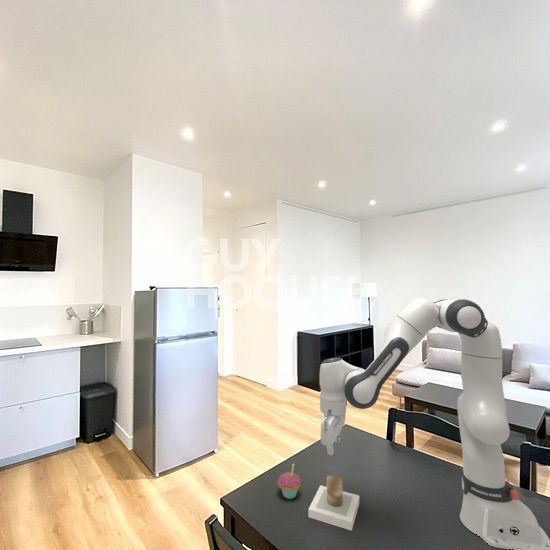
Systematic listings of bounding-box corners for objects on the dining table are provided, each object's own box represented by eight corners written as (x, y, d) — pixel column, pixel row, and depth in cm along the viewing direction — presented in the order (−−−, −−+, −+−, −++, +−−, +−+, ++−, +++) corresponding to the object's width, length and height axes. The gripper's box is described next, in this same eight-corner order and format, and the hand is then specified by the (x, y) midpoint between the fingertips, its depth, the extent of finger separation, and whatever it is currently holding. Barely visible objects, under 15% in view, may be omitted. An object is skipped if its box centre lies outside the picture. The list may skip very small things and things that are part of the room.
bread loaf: (344, 499, 104) (343, 477, 105) (340, 508, 100) (340, 485, 100) (329, 494, 106) (329, 473, 107) (325, 503, 102) (324, 481, 102)
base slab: (359, 503, 106) (359, 494, 106) (351, 530, 94) (351, 521, 94) (320, 492, 112) (320, 484, 112) (308, 517, 99) (308, 508, 100)
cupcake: (305, 492, 112) (304, 458, 113) (293, 505, 105) (293, 469, 106) (285, 484, 117) (285, 452, 118) (272, 496, 110) (272, 462, 111)
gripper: (334, 418, 95) (335, 464, 94) (348, 398, 113) (349, 437, 112) (315, 415, 97) (316, 460, 96) (331, 396, 116) (332, 434, 115)
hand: (334, 447), depth 104 cm, fingers open, 8 cm apart
